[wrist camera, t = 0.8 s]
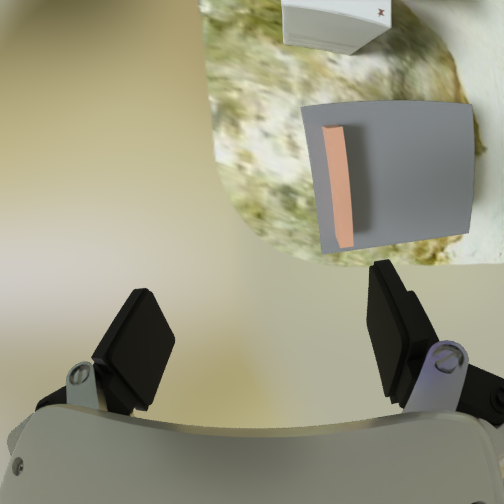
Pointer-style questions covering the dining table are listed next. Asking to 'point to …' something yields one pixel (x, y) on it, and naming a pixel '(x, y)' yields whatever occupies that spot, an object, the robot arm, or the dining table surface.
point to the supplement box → (334, 23)
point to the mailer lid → (390, 171)
